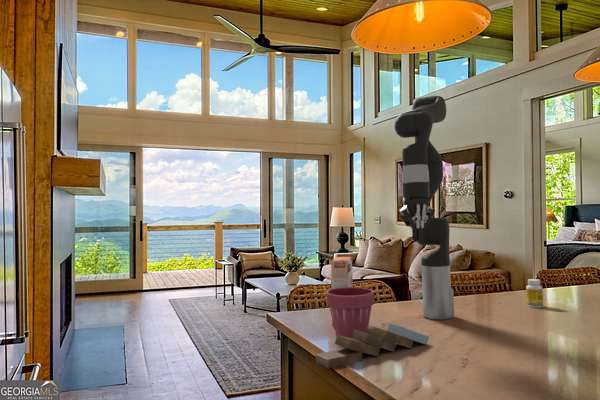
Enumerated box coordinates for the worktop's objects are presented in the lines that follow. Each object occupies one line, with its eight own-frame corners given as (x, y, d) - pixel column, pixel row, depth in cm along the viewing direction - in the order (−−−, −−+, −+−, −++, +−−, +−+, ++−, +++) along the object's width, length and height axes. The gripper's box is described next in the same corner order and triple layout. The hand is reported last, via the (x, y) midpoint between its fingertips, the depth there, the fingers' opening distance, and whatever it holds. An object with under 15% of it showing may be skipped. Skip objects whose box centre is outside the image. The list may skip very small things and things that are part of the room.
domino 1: (349, 347, 119) (315, 354, 114) (361, 352, 115) (327, 359, 110) (349, 356, 119) (315, 363, 114) (362, 361, 115) (327, 369, 110)
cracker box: (350, 327, 148) (348, 260, 148) (331, 327, 149) (329, 260, 150) (354, 317, 162) (352, 256, 162) (337, 317, 163) (335, 256, 163)
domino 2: (367, 342, 123) (337, 334, 118) (380, 347, 118) (349, 339, 113) (365, 351, 122) (334, 343, 117) (378, 356, 118) (347, 348, 113)
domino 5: (415, 332, 131) (389, 323, 127) (429, 336, 127) (402, 327, 122) (413, 340, 131) (386, 331, 126) (426, 344, 126) (400, 335, 122)
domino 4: (400, 336, 128) (372, 326, 124) (413, 340, 124) (385, 330, 119) (397, 344, 128) (370, 334, 123) (411, 348, 123) (383, 339, 119)
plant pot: (363, 343, 130) (361, 296, 130) (318, 337, 137) (317, 293, 137) (383, 331, 142) (381, 288, 142) (341, 326, 149) (339, 285, 149)
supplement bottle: (530, 304, 175) (529, 278, 175) (545, 306, 171) (544, 279, 171) (524, 306, 171) (523, 280, 172) (540, 308, 167) (538, 281, 168)
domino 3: (383, 339, 126) (354, 329, 122) (396, 343, 121) (366, 333, 117) (381, 347, 125) (351, 337, 121) (393, 351, 121) (364, 342, 116)
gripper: (422, 182, 143) (424, 239, 143) (389, 182, 136) (391, 242, 136) (441, 180, 137) (443, 240, 136) (408, 180, 130) (410, 243, 130)
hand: (417, 241), depth 136 cm, fingers closed
